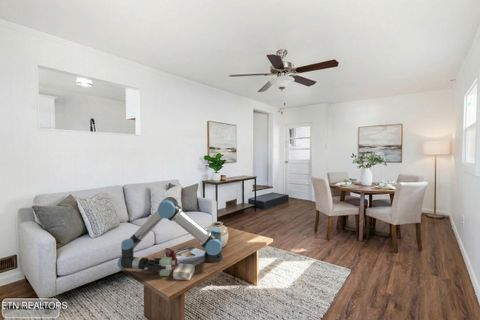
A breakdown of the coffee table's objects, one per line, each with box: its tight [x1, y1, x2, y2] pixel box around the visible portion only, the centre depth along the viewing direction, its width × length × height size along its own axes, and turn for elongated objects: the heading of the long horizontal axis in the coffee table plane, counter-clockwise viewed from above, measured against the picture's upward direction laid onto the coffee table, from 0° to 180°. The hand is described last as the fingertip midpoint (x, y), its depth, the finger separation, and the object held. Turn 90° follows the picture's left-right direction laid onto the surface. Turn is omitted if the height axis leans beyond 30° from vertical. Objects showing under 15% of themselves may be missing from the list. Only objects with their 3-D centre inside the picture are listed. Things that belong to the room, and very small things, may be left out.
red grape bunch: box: [164, 247, 179, 265], centre depth 175 cm, size 7×12×10 cm, turn 49°
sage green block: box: [158, 256, 173, 277], centre depth 160 cm, size 6×6×10 cm
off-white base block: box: [172, 263, 196, 281], centre depth 158 cm, size 11×11×5 cm
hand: (172, 265), depth 159 cm, fingers closed on sage green block, 6 cm apart
